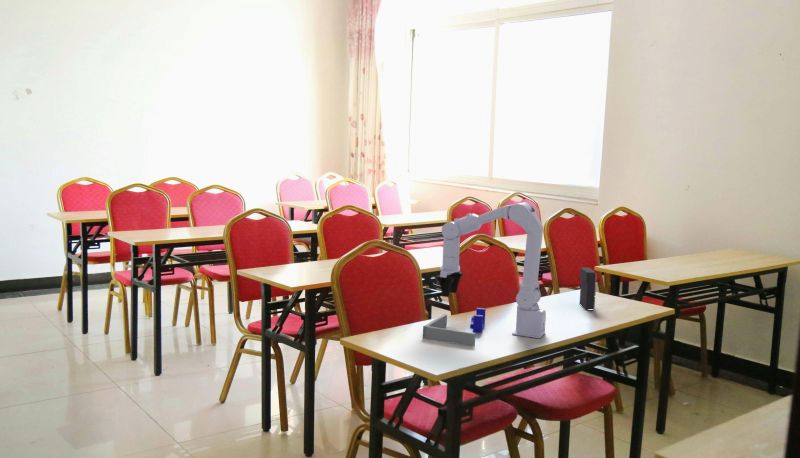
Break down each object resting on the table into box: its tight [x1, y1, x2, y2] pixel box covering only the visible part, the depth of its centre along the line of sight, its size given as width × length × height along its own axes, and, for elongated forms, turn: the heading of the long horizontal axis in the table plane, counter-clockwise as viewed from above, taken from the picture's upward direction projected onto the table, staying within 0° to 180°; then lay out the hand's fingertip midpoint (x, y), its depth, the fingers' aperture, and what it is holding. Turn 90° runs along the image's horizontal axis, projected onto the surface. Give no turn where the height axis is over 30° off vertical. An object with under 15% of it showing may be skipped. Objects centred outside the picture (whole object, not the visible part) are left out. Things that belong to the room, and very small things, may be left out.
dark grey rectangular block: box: [579, 267, 597, 310], centre depth 288 cm, size 11×4×15 cm, turn 179°
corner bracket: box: [422, 313, 476, 347], centre depth 241 cm, size 17×19×4 cm
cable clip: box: [469, 307, 487, 334], centre depth 250 cm, size 12×4×6 cm, turn 169°
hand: (449, 294), depth 256 cm, fingers open, 7 cm apart
